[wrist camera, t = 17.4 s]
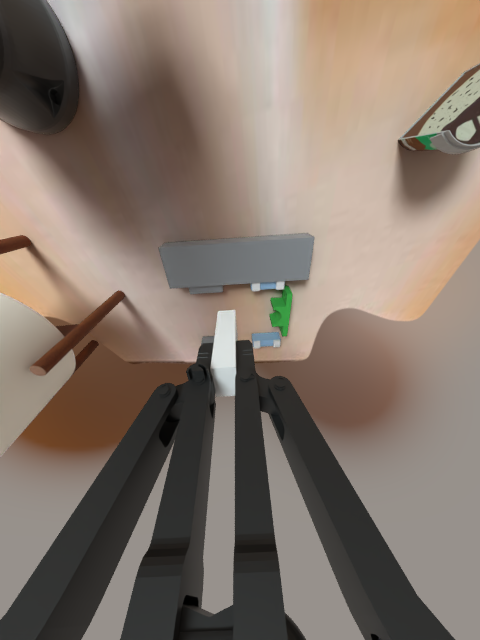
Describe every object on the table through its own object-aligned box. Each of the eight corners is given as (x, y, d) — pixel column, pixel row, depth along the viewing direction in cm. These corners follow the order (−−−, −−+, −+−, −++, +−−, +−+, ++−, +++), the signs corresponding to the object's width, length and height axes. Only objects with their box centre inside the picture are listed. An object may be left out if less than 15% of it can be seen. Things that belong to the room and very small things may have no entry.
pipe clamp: (271, 285, 45) (274, 294, 41) (287, 285, 45) (292, 293, 41) (268, 326, 51) (271, 337, 47) (283, 325, 51) (287, 336, 47)
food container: (405, 180, 34) (460, 177, 26) (388, 149, 32) (443, 135, 23) (489, 102, 29) (592, 67, 21) (476, 59, 26) (587, -1, 18)
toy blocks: (191, 343, 53) (188, 353, 50) (164, 242, 39) (158, 247, 35) (294, 336, 53) (298, 346, 49) (307, 232, 38) (314, 237, 35)
